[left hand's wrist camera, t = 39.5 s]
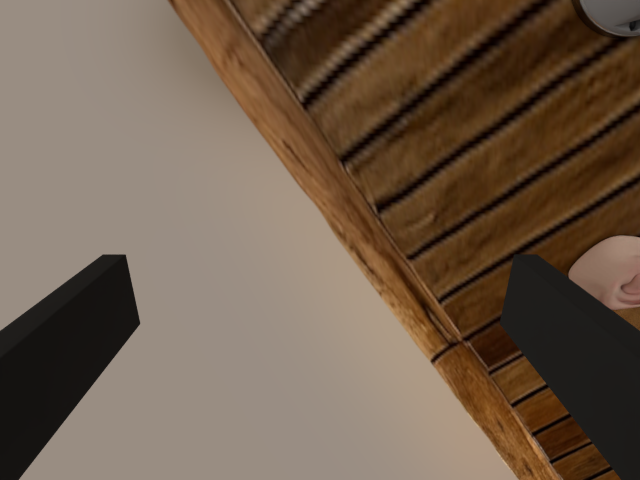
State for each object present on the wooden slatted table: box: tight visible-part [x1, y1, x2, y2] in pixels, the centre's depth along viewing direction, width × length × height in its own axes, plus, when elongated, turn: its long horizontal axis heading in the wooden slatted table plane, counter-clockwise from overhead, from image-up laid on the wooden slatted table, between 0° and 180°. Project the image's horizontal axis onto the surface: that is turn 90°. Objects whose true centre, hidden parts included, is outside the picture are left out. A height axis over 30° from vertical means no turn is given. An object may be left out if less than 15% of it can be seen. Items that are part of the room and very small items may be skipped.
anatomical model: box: [569, 236, 640, 310], centre depth 52 cm, size 13×4×12 cm
